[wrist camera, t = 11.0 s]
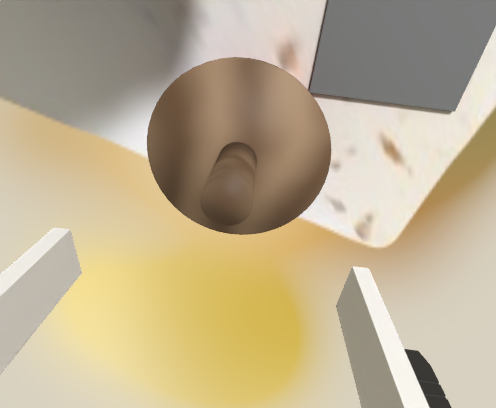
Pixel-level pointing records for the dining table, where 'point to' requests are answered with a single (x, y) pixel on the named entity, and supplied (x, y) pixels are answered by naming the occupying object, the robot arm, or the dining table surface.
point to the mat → (402, 50)
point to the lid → (239, 146)
